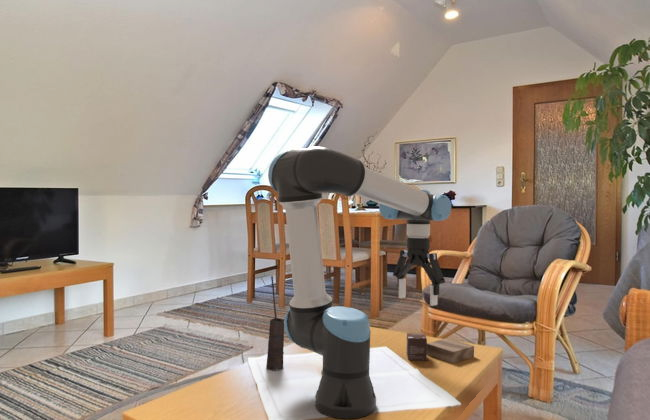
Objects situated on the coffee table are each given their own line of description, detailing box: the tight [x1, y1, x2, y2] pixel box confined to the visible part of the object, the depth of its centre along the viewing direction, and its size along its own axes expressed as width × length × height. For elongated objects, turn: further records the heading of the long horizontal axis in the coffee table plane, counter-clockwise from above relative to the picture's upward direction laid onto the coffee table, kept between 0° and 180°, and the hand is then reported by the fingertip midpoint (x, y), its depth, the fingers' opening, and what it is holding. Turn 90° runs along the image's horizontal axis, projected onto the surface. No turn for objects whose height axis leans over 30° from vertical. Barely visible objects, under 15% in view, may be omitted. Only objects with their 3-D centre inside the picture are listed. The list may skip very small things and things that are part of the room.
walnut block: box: [427, 337, 475, 364], centre depth 152 cm, size 11×11×4 cm
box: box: [406, 332, 428, 362], centre depth 150 cm, size 6×6×7 cm
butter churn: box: [265, 275, 285, 371], centre depth 138 cm, size 9×10×28 cm
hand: (417, 301), depth 149 cm, fingers open, 13 cm apart
